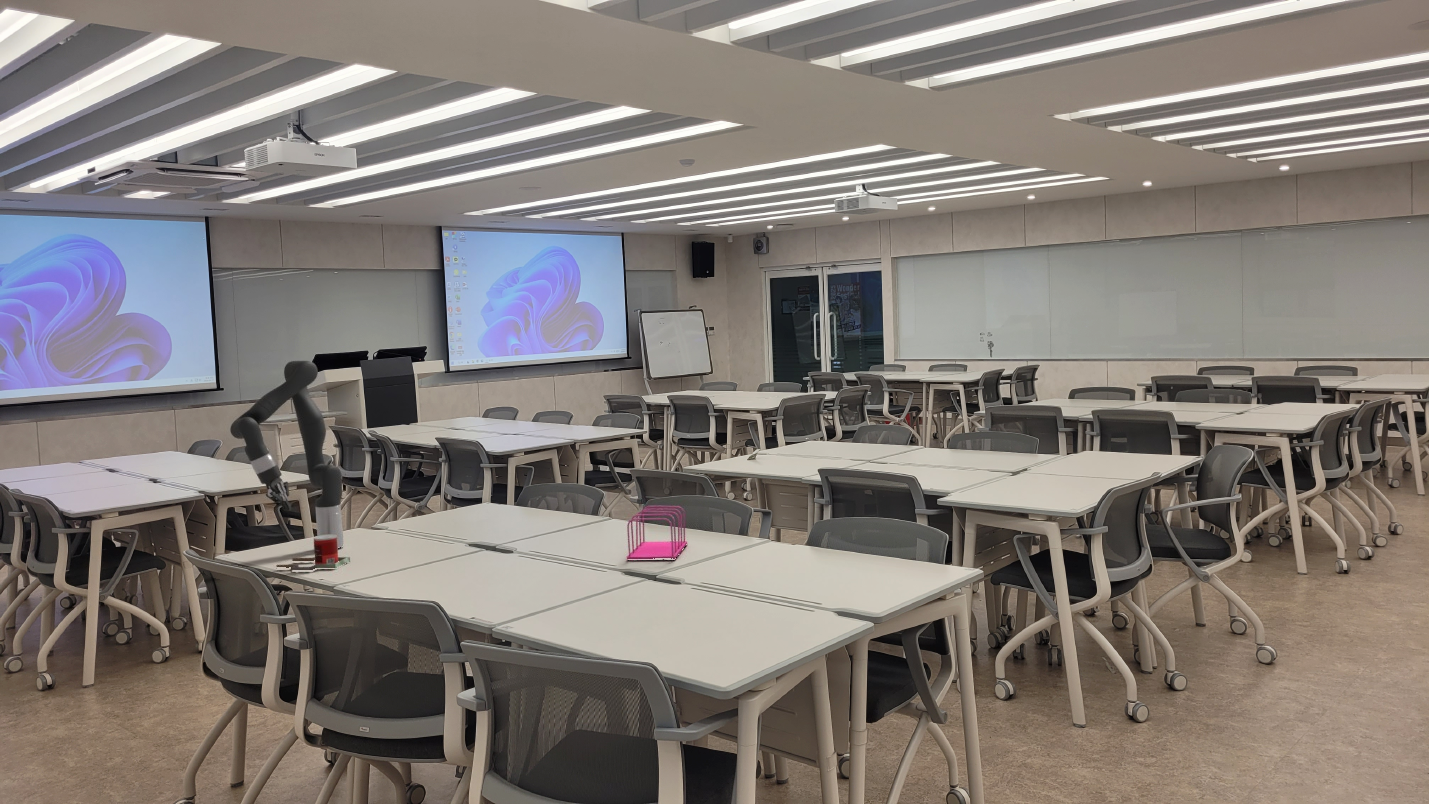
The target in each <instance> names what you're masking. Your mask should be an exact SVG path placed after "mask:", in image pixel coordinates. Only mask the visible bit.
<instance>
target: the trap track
mask: <svg viewBox="0 0 1429 804" xmlns="http://www.w3.org/2000/svg"><path fill="white" fill-rule="evenodd" d="M314 560H315V556H314V557H292V558H291V562H292V561H314ZM338 561H339V562H337V563H335V564H316V565H315V564H314V565H311V566H299V564H276V567H286V568H289V567H291V570H313V569H315V568H337V567H339V566H341V565H343V564H345V563H347V562H350V563H351V557H350V556H340V557H339V556H338ZM291 570H290V571H291Z"/></svg>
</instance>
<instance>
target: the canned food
mask: <svg viewBox="0 0 1429 804" xmlns="http://www.w3.org/2000/svg"><path fill="white" fill-rule="evenodd" d="M313 549H314V550H313V551H314V557H315V563H314V565H316V564H335V563H337V562H338V557H339V551H338V550H339V549H338V547H337V535H334V534H328V535H320V536H314V537H313Z"/></svg>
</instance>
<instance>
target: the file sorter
mask: <svg viewBox="0 0 1429 804" xmlns="http://www.w3.org/2000/svg"><path fill="white" fill-rule="evenodd" d="M679 509H680V510H681V511H682V513H681V511H680V510H679ZM677 512H678V513H677ZM672 514H674V515H675V516H676V518H677V532H676V520H675V517H674V516H673V515H672ZM647 516H648V517H647ZM652 516H653V517H652ZM655 516H656V517H655ZM657 516H660V517H657ZM661 516H668V517H671V518H672V521H673V522H672V521H670V519H669V518H665V517H661ZM682 516H683V517H682ZM641 517H642V518H641ZM645 517H646V518H645ZM654 520H655V521H659V520H661V521H663V520H664V521H667V522H668V523H669V525H670V537H671V538H670V539H671V541H670V540H669V541H645V540H646V539H645V521H654ZM634 521H635V541H634V529H633V527H634V526H633V522H634ZM641 521H642V522H641ZM641 525H642V526H641ZM626 527H627V529H626V531H627V547H628V555H627V556H626V560H627V559H653V558H654V559H655V558H671V559H672V558H673V559H675V558H676V557H677V556H678V554H679V553H680V552H681V551H682V549H683V548H684V547H685V546H686V544H687V545H688V541H687V540H686V514H685V509H684V508H683V507H681V506H679V505H647V506H645V507H644V508H643V509H642V510H640V511H639V512H638V513H637V514H635V515H633V516H632V517H631V518H630V520H629V521H628V522H627V526H626ZM641 527H642V528H641ZM630 530H631V531H630ZM638 532H639V534H638ZM676 533H677V537H676ZM630 534H631V538H630ZM638 536H639V537H638ZM673 537H674V538H673ZM630 539H631V542H630ZM638 540H639V541H638ZM630 543H631V544H630ZM634 543H635V544H634ZM631 546H632V551H631ZM686 547H687V546H686ZM682 552H683V551H682ZM682 552H681V553H682ZM678 557H679V556H678ZM678 557H677V558H678Z"/></svg>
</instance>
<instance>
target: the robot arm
mask: <svg viewBox="0 0 1429 804" xmlns="http://www.w3.org/2000/svg"><path fill="white" fill-rule="evenodd" d="M318 370H319V369H318V367H317V365H316V364H315V363H314V362H312V361H309V360H291V361H289V362H287V363H286V364H285V366H284V369H283V376H284V379H285V382H283V383H282V384H280V385H279V386H277V387H276V388H274V389H272V390H270V391H269V392H266V393H265V394H263V396H261V397H260V398H259V399H258V400H257V401H256V402H255V403H254V404H253V405H252V406H251V407H250V408H249V409H248V410H247V411H245V412H244V413H243V414H241V415H240V416H238V418H236V419H235V420H234V421H233V422H232V423H231V425H230V429H229V430H230V434H231V436H232V437H234V438H235V439H240V440H244V442H245V443H244V444H245V446H244V452H245V455H246V457H248V460H249V461H250V464H251V466H252V469H253V470H254V473H255V475H257V476H256V477H257V478H258V480H259V482H260V483H261V484H262V485H265V486H266V489H267V492H266V493H265V496H266V497H267V498H268V499H270V500H271V501H273V502H274V503H275V504H277V503H279V504H280V505H281V508H282V509H283V511H285V512H288V511H290V510H291V509H292V506H291V503H290V502H289V500H288V499H289V498H288V497H289V496H290V489H289V481H283V479H282V478H281V476H282V472H281V469H280V468H279V466H278V465H277V462H276V461H275V459H274V457H273V455H271V453H270V451H269V450H268V449H269V448H267V445H266V444H265V442H264V437H263V434H262V433H263V432H262V430H261V427H260V425H261V424H262V423H264V422H266V421H267V420H269V418H271V416H273V415H274V414H275V413H276V412H277V411H278V410H279V409H280V408H281V407H282V406H283V405H285V403H287V401H289V400H290V399H292V404H293V407H294V408H293V409H294V412H295V415H296V419H297V424H298V429H299V432H300V436H301V440H302V444H303V445H302V446H303V448H304V452H305V460H306V467H307V474H308V478H309V482H310V485H312V487H314V488H316V489H321V496H320V497H318V498H316V499H315V500H314V501H315V502H314V504H315V521H316V532H317V533H316V534H317V536H320V535H328V534H334V535H337V547H342V546H343V544H344V530H343V522H342V508H341V505H342V504H341V500H342V497H343V478H342V471H341V469H340V468H339V467H338V466H337V465H333V464H326V463H325V458H324V455H323V453H324V452H323V446H324V442H325V441H326V436H327V429H326V424H325V420H324V416H323V414H322V412H321V409H320V408H319V407H318V406H317V404H316V403H315V401H314V400H313V399H312V397H311V395H310V392H309V390H308V389H309V388H308V386H309V385H311V384H312V383H314V382H315V381H316V380H317V378H318V374H319V373H318V372H319V371H318ZM343 547H344V546H343Z"/></svg>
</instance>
